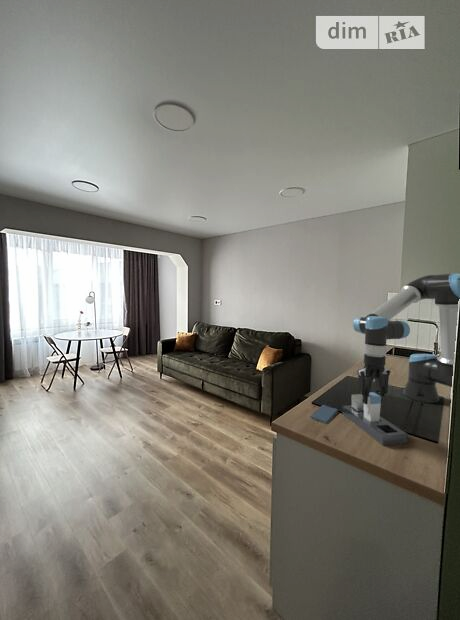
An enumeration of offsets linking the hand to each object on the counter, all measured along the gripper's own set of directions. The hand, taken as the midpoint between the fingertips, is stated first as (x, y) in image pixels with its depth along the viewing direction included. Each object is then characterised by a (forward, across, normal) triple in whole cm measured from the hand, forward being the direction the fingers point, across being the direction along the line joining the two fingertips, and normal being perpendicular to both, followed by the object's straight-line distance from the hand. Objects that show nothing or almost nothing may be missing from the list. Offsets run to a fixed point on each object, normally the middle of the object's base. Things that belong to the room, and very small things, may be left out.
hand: (371, 410), depth 101 cm
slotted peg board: (+7, 0, 0) cm, 7 cm away
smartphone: (+8, +14, -12) cm, 20 cm away
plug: (+5, 0, 0) cm, 5 cm away
